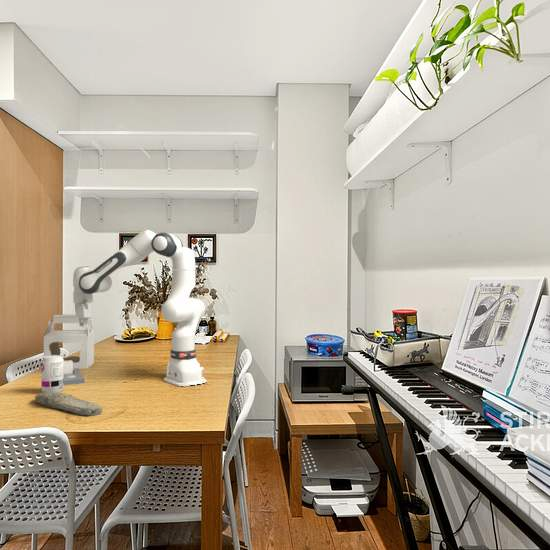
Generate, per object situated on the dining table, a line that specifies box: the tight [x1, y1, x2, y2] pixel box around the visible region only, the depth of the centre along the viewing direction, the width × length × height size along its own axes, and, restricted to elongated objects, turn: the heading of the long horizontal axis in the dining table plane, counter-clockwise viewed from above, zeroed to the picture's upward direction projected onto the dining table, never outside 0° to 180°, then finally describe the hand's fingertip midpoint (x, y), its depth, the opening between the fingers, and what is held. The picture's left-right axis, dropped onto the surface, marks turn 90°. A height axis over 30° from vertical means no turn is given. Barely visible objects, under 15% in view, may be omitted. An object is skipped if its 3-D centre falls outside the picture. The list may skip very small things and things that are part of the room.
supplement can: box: [41, 354, 64, 394], centre depth 181 cm, size 8×8×15 cm
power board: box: [63, 369, 85, 386], centre depth 203 cm, size 22×10×2 cm, turn 33°
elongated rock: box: [34, 392, 103, 417], centre depth 161 cm, size 35×5×10 cm
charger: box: [63, 360, 73, 374], centre depth 207 cm, size 4×4×8 cm
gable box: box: [43, 314, 95, 370], centre depth 229 cm, size 22×13×28 cm, turn 99°
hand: (83, 327), depth 211 cm, fingers open, 8 cm apart
